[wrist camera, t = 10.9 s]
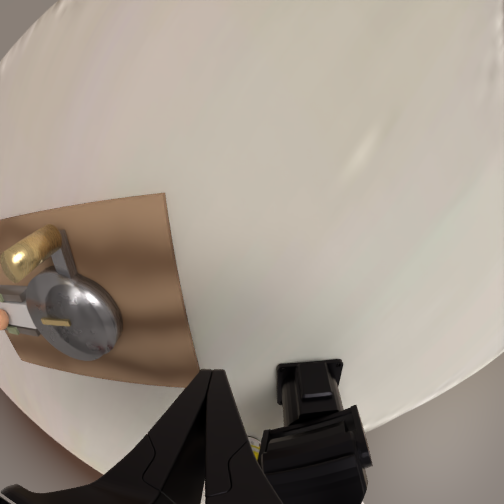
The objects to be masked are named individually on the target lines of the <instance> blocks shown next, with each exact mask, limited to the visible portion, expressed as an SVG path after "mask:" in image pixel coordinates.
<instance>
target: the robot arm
mask: <svg viewBox="0 0 504 504" xmlns="http://www.w3.org/2000/svg"><path fill="white" fill-rule="evenodd" d="M342 368H343V362H342V360H341V359H335V360H326V361H316V362H304V363H290V364H280V365H279V366H278V367H277V403H278V404H279V405H283V417H284V427H282V428H277V429H273V430H270V429H269V430H264V433H263V437H262V440H261V445H260V450H259V455H258V459H256V457H255V455H254V452H253V450H252V447H251V445H250V442H249V440H248V437H247V434H246V431H245V429H244V426H243V423H242V420H241V417H240V414H239V412H238V409H237V406H236V403H235V400H234V397H233V394H232V391H231V388H230V385H229V382H228V379H227V376H226V372H225V370H223V369H214V370H211V369H201V370H200V371H199V372H198V374H197V375H196V376H195V377H194V378H193V380H192V381H191V382H190V383H189V385H188V386H187V387H186V388H185V389H184V391H183V392H182V393H181V394H180V395H179V397H178V398H177V399H176V400H175V401H174V403H173V404H172V405H171V406H170V407H169V409H168V410H167V411H166V412H165V413H164V414H163V416H162V417H161V418H160V419H159V420H158V422H157V423H156V424H155V425H154V426H153V427H152V429H151V430H150V431H149V432H148V434H146V435H145V437H144V438H143V439H142V440H141V441H140V442H139V443H138V444H137V445H136V446H135V448H134V449H133V450H132V451H131V452H129V453H128V454H127V455H126V456H125V457H124V458H123V459H122V460H121V461H120V462H118V463H117V464H116V465H115V466H114V467H113V468H111V469H110V470H109V471H108V472H107V473H105V474H104V475H103V476H102V477H100V478H99V479H98V480H96V481H94V482H93V483H90V484H88V485H85V486H80V487H76V488H71V489H66V490H61V491H56V492H49V493H34V492H31V491H28V490H27V489H25V488H23V487H22V486H20V485H18V484H14V485H11V486H8V487H6V488H4V489H3V490H2V491H1V493H2V494H4V495H5V496H6V497H7V498H9V499H10V500H12V501H13V502H15V503H16V504H200V503H201V497H202V492H203V486H204V481H205V497H206V499H205V504H361V503H362V500H363V498H364V495H365V493H366V490H367V485H368V480H367V476H366V471H365V468H368V467H370V466H373V465H372V461H371V456H370V452H369V447H368V443H367V439H366V436H365V432H364V428H363V425H362V422H361V418H360V415H359V412H358V409H357V406H356V405H354V406H351V408H348V409H345V410H343V406H342V402H341V398H340V394H339V390H338V385H339V381H340V377H341V372H342ZM0 504H11V503H9V502H8V501H6V500H5V499H4V498H2V497H1V496H0Z"/></svg>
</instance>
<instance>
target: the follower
mask: <svg viewBox="0 0 504 504" xmlns="http://www.w3.org/2000/svg"><path fill="white" fill-rule="evenodd" d="M8 324H11V325H16V326H22V327H27V328H33V329H37V327H36V326H35V324H34V323H33V321H32V319H31V316H30V314H29V311H28V308H27V304H26V299H25V300H24V301H23V302H14V301H4V302H0V330H4V329H6V328H7V326H8Z"/></svg>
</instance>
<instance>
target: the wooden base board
mask: <svg viewBox="0 0 504 504" xmlns="http://www.w3.org/2000/svg"><path fill="white" fill-rule="evenodd" d="M47 224H51V225H54V226H55V227H56V228H57V229H58V230H65V233H66V236H67V240H68V243H69V247H70V250H71V253H72V257H73V260H74V263H75V266H76V269H77V272H78V273H79V274H81V275H82V276H85V277H87V278H89V279H91V280H93V281H95V282H96V283H98V284H99V285H101V286H102V287H103V288H104V289H105V290H106V291H107V292H108V293H109V294H110V295H111V297H112V298H113V299H114V301H115V302H116V304H117V306H118V308H119V310H120V312H121V315H122V320H123V329H122V333H121V335H120V336H119V338H118V340H117V342H116V344H115V345H114V347H113V349H112V350H111V351H110V352H108V353H106V354H103V355H102V356H101V357H100V358H98V359H96V360H92V361H83V360H78V359H75V358H72V357H70V356H68V355H66V354H64V353H62V352H61V351H59V350H58V349H56V348H55V347H54V346H52V345H51V344H50V343H49V342H48V341H47V340H46V339H45V338H44V337H43V336H42V334H41V333H40V332H39V330H38V329H33V328H27V327H22V326H16V325H11V324H8V326H7V328H6V329H4V330H5V332H6V334H7V335H8V337H9V339H10V341H11V343H12V345H13V346H14V348H15V350H16V352H17V353H18V355H19V357H20V358H21V360H22V361H26V362H29V363H33V364H37V365H40V366H44V367H48V368H52V369H57V370H61V371H66V372H70V373H75V374H80V375H85V376H91V377H96V378H102V379H108V380H115V381H122V382H130V383H138V384H147V385H157V386H169V387H183V388H186V387H187V386H188V385H189V383H190V382H191V381H192V380H193V378H194V377H195V376H196V375H197V374H198V372H199V371H200V369H199V365H198V361H197V357H196V353H195V349H194V345H193V341H192V337H191V332H190V328H189V324H188V319H187V315H186V310H185V306H184V301H183V296H182V291H181V286H180V281H179V276H178V271H177V265H176V260H175V254H174V249H173V243H172V237H171V231H170V224H169V218H168V211H167V204H166V197H165V193H159V194H150V195H141V196H133V197H125V198H118V199H111V200H104V201H97V202H90V203H84V204H78V205H72V206H66V207H60V208H55V209H50V210H44V211H39V212H34V213H29V214H24V215H20V216H15V217H10V218H6V219H2V220H0V257H1V254H2V253H3V252H4V251H6V250H7V249H9V248H10V247H12V246H13V245H15V244H16V243H18V242H19V241H21V240H22V239H24V238H25V237H27V236H29V235H30V234H32V233H33V232H35V231H37V230H38V229H40V228H42V227H43V226H45V225H47ZM49 266H54V263H53V260H52V257H51V256H50V257H49V258H48V259H46V260H45V261H44V262H43V263H41V264H40V265H39V266H38V267H36V268H35V269H34V270H33V271H31V272H30V273H29V274H28V275H27V276H25V277H24V278H23V279H22V280H21V281H19V282H18V283H14V282H12V281H10V280H9V279H8V278H7V276H6V275H5V274H4V272H3V270H2V267H1V262H0V302H4V301H14V302H23V301H24V300H25V299H26V289H27V286H28V284H29V282H30V281H31V280H32V279H33V278H34V277H35V276H36V275H38V274H39V273H40V272H41V271H42V270H44V269H45V268H47V267H49Z"/></svg>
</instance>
